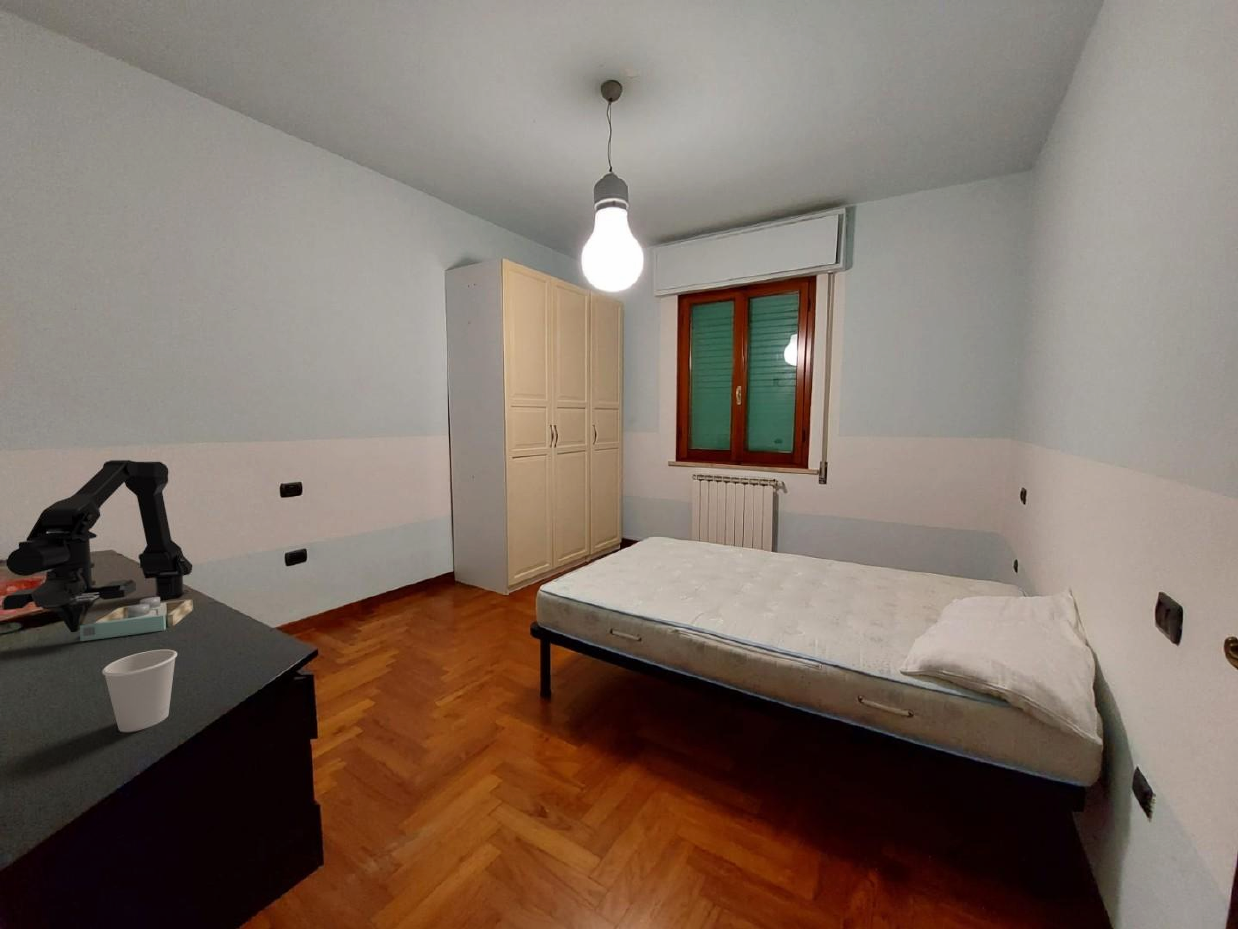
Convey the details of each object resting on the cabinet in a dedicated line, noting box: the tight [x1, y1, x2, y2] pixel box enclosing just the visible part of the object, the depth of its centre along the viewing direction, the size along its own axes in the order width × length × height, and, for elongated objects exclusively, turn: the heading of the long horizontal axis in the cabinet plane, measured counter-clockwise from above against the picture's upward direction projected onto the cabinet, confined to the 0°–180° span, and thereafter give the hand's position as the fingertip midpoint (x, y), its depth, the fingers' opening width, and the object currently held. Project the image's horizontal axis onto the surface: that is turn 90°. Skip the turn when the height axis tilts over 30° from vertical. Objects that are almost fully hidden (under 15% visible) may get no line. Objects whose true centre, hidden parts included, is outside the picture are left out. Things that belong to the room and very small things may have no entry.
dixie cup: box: [101, 648, 178, 733], centre depth 74 cm, size 8×8×10 cm
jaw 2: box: [139, 596, 168, 616], centre depth 116 cm, size 4×4×5 cm
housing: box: [94, 598, 194, 628], centre depth 114 cm, size 12×14×3 cm
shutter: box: [79, 614, 167, 642], centre depth 106 cm, size 1×14×4 cm, turn 116°
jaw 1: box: [121, 603, 156, 620], centre depth 111 cm, size 4×4×5 cm
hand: (75, 631), depth 103 cm, fingers closed
